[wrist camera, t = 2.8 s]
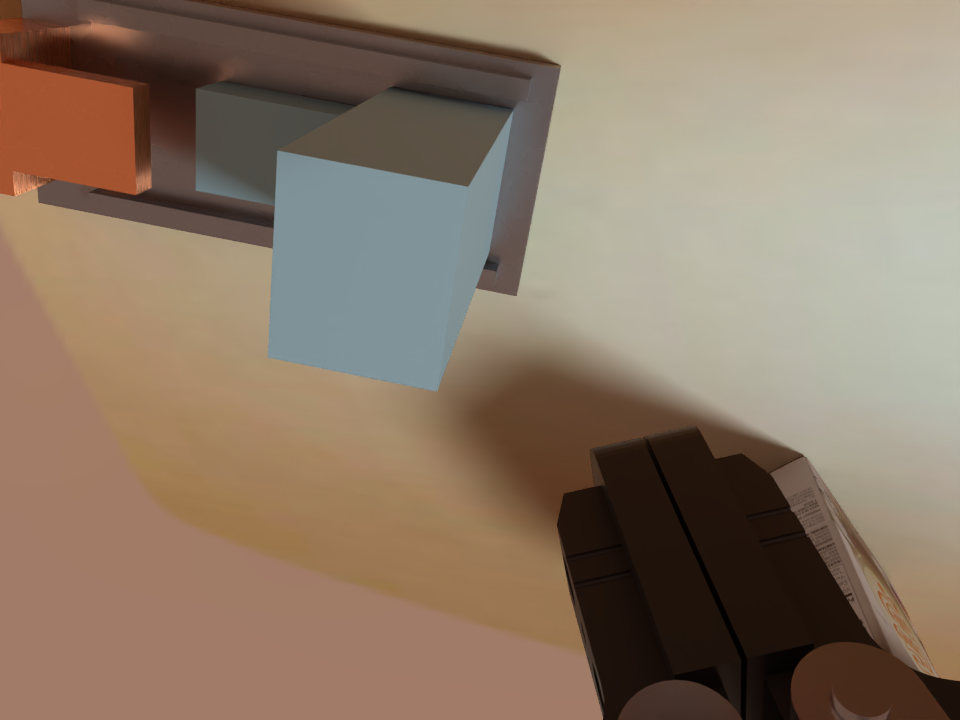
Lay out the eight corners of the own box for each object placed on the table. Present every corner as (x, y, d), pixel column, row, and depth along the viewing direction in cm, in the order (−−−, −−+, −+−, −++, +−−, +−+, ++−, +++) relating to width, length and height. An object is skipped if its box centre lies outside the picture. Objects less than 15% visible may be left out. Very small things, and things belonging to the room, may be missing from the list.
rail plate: (561, 65, 32) (555, 82, 27) (518, 286, 37) (506, 336, 32) (36, -30, 33) (-62, -31, 28) (54, 196, 38) (-29, 230, 33)
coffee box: (896, 579, 41) (1059, 907, 27) (780, 629, 43) (873, 956, 29) (804, 449, 38) (930, 733, 24) (687, 509, 41) (738, 802, 26)
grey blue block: (513, 109, 32) (468, 186, 21) (489, 251, 35) (436, 391, 23) (221, 55, 33) (16, 100, 21) (219, 199, 35) (36, 310, 24)
